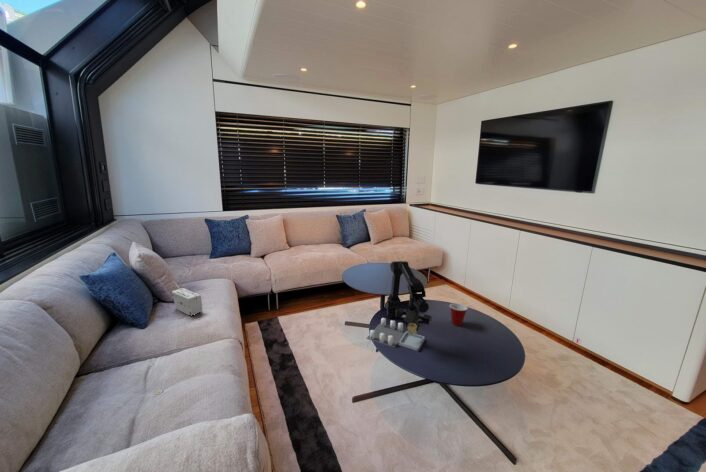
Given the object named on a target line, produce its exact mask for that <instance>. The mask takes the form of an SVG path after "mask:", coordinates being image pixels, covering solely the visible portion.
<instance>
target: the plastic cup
mask: <svg viewBox="0 0 706 472" xmlns="http://www.w3.org/2000/svg"><path fill="white" fill-rule="evenodd" d="M449 308H450V309H449V310H450V317H451V324H452V325H453V326H456V327H460V326H462V325H463V321H464V318H465V316H466V313H467V310H468V309H469V308H468V306H467V305H464V304H462V303H450V304H449Z"/></svg>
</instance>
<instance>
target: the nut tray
mask: <svg viewBox="0 0 706 472" xmlns="http://www.w3.org/2000/svg"><path fill="white" fill-rule="evenodd" d="M424 341H425V336H423V335H421V334H417V333H416V334H410V333H409V332H407V330H406V332H405V333H404V334H403V336H402V337H401V339H400V340H399V342H398V343H397V345H398V346H401V347H404V348H406V349H410V350H413V351H416V352H419V350H420V349H421V347H422V345H423V344H424Z"/></svg>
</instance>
